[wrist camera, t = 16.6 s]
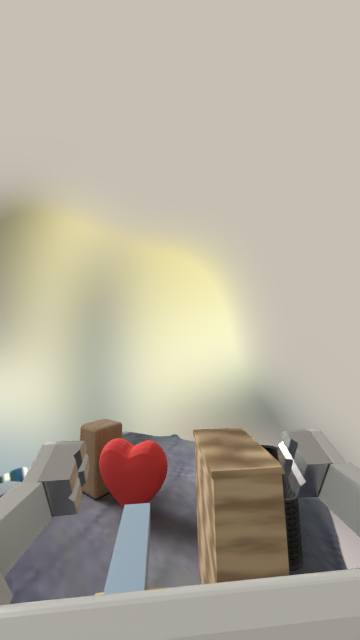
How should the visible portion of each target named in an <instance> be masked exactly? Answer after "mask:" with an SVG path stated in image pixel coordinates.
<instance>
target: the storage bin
mask: <svg viewBox="0 0 360 640" xmlns="http://www.w3.org/2000/svg"><path fill="white" fill-rule="evenodd" d="M261 446H262V447H263V448H264V449H265V450H266V451H268V452H269V453H270V454H271V455H272V456H273V457H274V458H275V459H276V460H278V461H279V459H278V452H277V451H278V448H277V447H274V446H268V445H261ZM288 480H289V474H288V473H286V472H285V474H282V481H283V494H284V508H285V521H286V534H287V547H288V561H289V570H296V569H299V568H300V567H301V566H302V564H303V557H302V546H301V535H300V524H299V522H300V521H299V508H298V507H299V506H298V498H297V496H296V494H295V492H294V490H293V488H292V487H291V485H290V483H289V481H288Z"/></svg>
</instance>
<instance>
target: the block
mask: <svg viewBox="0 0 360 640" xmlns="http://www.w3.org/2000/svg"><path fill="white" fill-rule="evenodd" d="M116 438H122V424H121V423H120V422H116V421H112V420H108V419H102V420H98V421H95V422H90V423H87V424H84V425H82V426H81V435H80V441H86V444H87V449H86V454H87V455H88V456H89V471H88V477H87V480H86V483H85V484H84V485H83V486H82V487H81V489H82V492H84V493H86V494H87V495H89V496H91V497H92V498H94V499H97V498H99V497H101V496H103V495H105V494H107V493H108V492H110V491H109V490H108V488H107V487H106V485H105V483H104V481H103V478H102V476H101V473H100V468H99V460H100V455H101V452H102V450H103V448H104V447H105V445H106V444H107V443H108V442H109V441H111V440H113V439H116Z"/></svg>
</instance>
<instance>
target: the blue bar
mask: <svg viewBox="0 0 360 640" xmlns="http://www.w3.org/2000/svg"><path fill="white" fill-rule="evenodd" d="M149 544H150V503H141V504H127V505H124V509H123V514H122V518H121V522H120V526H119V530H118V535H117V539H116V543H115V547H114V551H113V556H112V560H111V564H110V568H109V572H108V577H107V581H106V585H105V589H104V593H103V595H104V594H114V593H123V592H133V591H143V590H147V579H148V562H149Z"/></svg>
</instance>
